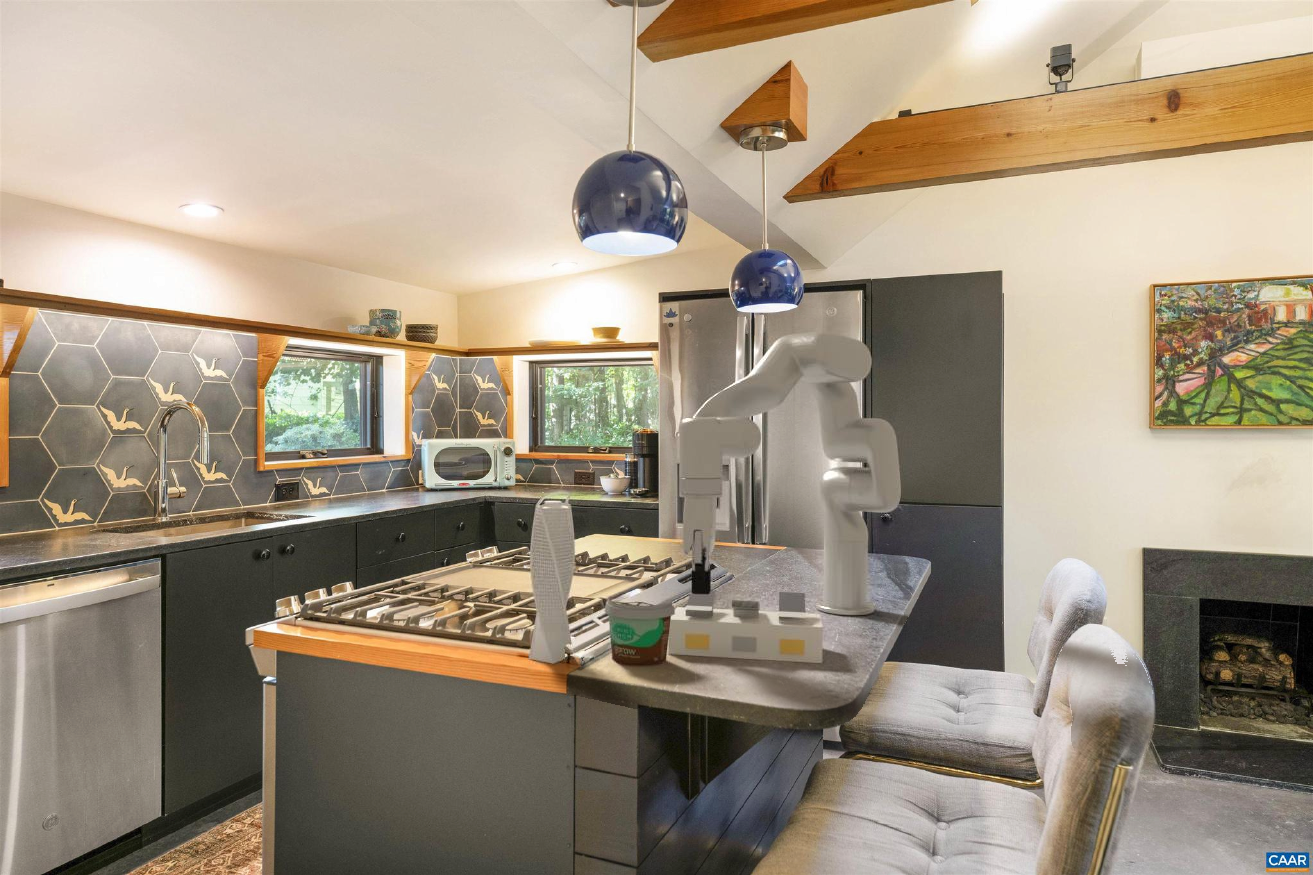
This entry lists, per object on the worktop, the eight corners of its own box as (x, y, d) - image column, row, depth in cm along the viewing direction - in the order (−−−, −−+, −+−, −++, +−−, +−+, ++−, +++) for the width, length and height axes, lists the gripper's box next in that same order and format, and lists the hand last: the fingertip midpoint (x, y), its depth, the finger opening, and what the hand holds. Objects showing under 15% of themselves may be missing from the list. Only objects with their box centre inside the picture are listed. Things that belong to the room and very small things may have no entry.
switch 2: (734, 608, 137) (734, 602, 138) (759, 610, 136) (759, 603, 137) (731, 607, 130) (731, 600, 130) (758, 608, 129) (758, 601, 129)
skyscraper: (549, 648, 133) (551, 489, 133) (583, 655, 129) (585, 491, 129) (519, 659, 126) (521, 492, 126) (555, 666, 122) (557, 494, 123)
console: (676, 639, 140) (677, 600, 140) (819, 647, 136) (819, 607, 136) (668, 654, 130) (668, 612, 130) (822, 663, 126) (822, 620, 126)
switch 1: (691, 595, 139) (691, 589, 139) (715, 597, 138) (715, 590, 138) (685, 616, 131) (685, 609, 131) (711, 617, 130) (711, 610, 130)
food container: (591, 663, 125) (592, 602, 125) (606, 653, 130) (607, 595, 130) (661, 671, 120) (662, 609, 120) (674, 661, 126) (675, 601, 126)
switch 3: (779, 597, 136) (779, 591, 136) (804, 598, 135) (804, 592, 135) (778, 622, 129) (778, 616, 128) (805, 624, 128) (805, 617, 128)
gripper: (685, 485, 140) (685, 583, 140) (673, 491, 125) (673, 602, 125) (725, 485, 138) (726, 585, 138) (718, 491, 124) (719, 603, 124)
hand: (701, 592), depth 132 cm, fingers closed
